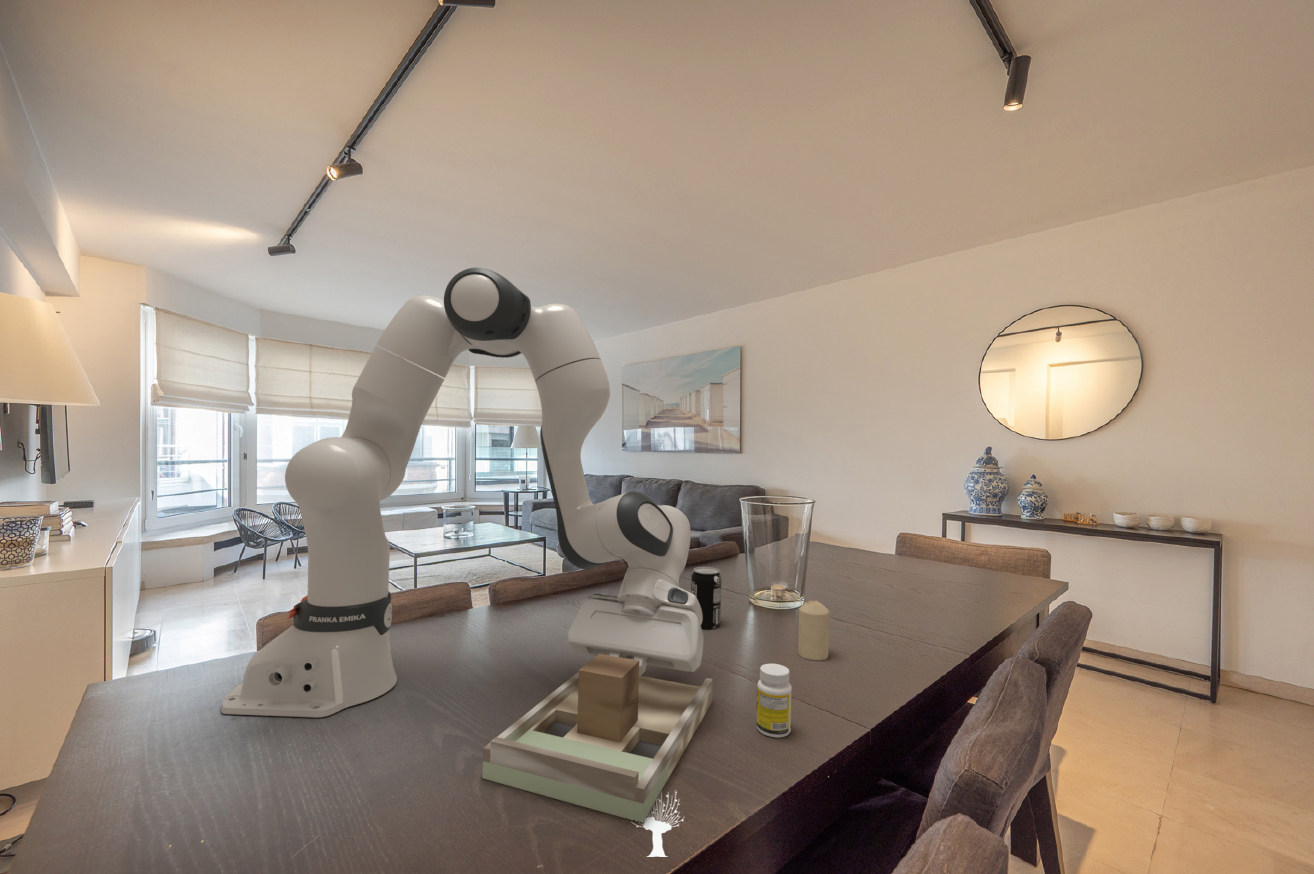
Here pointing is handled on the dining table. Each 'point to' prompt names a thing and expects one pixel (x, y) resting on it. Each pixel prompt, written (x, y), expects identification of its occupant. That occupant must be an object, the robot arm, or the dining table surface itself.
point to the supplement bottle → (774, 701)
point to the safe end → (576, 793)
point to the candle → (813, 631)
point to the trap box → (656, 735)
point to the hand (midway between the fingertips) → (619, 689)
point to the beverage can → (708, 594)
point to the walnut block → (608, 697)
